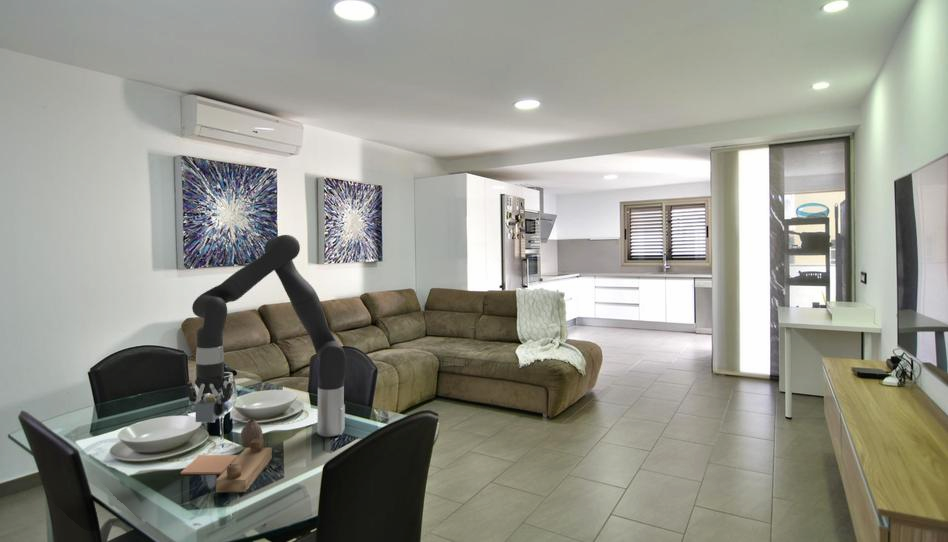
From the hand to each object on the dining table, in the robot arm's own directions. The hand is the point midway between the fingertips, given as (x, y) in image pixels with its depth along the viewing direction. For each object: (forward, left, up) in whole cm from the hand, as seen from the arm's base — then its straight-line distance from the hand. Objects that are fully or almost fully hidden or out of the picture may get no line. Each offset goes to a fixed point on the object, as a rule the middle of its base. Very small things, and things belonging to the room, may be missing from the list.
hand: (210, 414), depth 156 cm
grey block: (0, 0, -1) cm, 1 cm away
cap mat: (0, 0, -16) cm, 16 cm away
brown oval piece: (-7, -15, -16) cm, 23 cm away
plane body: (-13, +6, -16) cm, 22 cm away
